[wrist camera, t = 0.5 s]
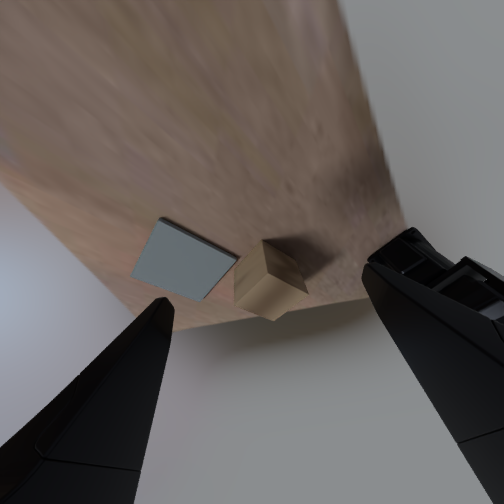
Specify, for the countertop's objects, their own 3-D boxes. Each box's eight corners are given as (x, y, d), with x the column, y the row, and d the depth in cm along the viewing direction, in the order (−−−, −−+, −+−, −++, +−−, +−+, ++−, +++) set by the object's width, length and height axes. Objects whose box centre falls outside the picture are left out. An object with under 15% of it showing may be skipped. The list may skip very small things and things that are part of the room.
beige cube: (295, 260, 25) (309, 294, 20) (267, 285, 28) (273, 321, 23) (261, 239, 23) (267, 273, 18) (234, 269, 25) (233, 305, 21)
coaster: (236, 257, 24) (236, 260, 24) (200, 298, 29) (199, 302, 28) (159, 217, 20) (157, 220, 19) (131, 273, 25) (129, 276, 24)
